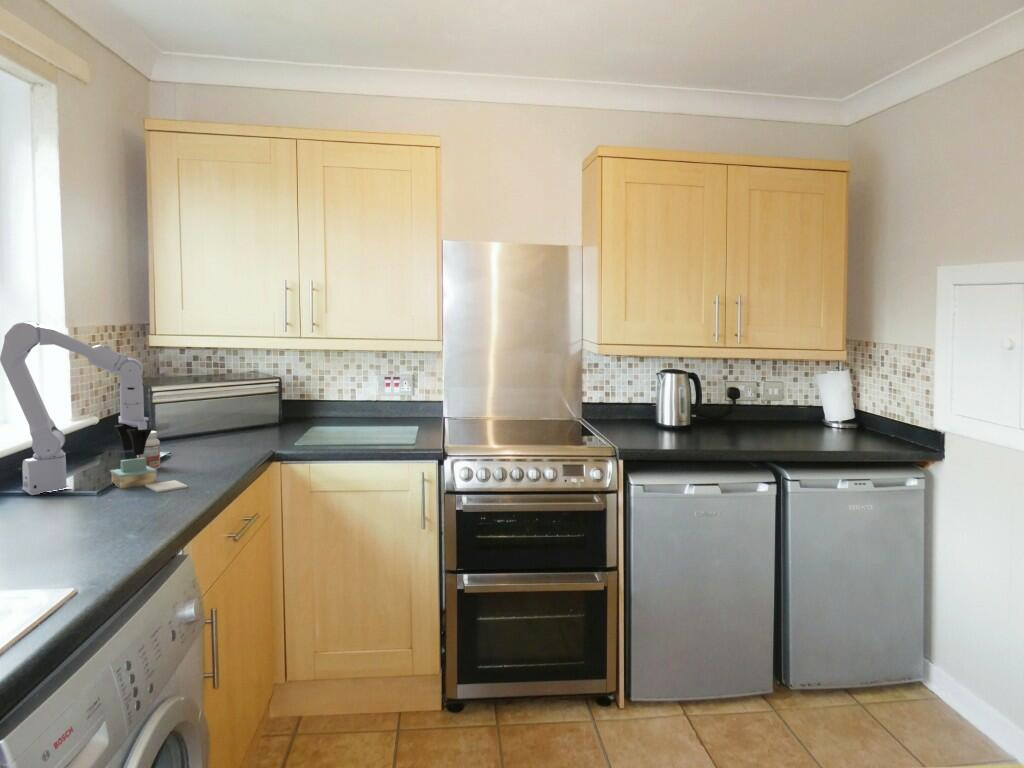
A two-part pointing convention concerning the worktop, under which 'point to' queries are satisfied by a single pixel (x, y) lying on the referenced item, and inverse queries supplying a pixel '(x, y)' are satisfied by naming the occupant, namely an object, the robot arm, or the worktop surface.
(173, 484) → the mat
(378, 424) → the worktop surface
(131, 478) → the box
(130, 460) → the lid
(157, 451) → the pill bottle
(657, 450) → the worktop surface
